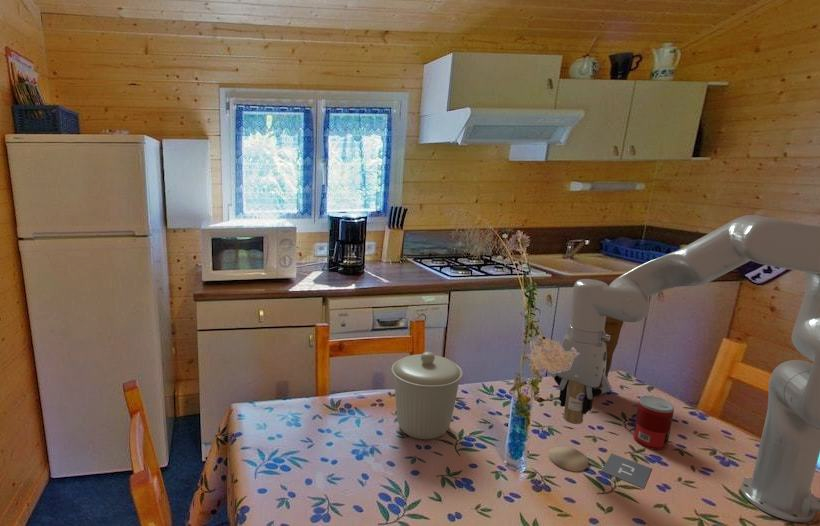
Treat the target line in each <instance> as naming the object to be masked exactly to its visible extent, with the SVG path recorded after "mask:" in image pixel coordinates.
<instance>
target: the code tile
mask: <svg viewBox="0 0 820 526" xmlns="http://www.w3.org/2000/svg"><path fill="white" fill-rule="evenodd" d="M601 472H602V473H605V474H607V475H609V476H612V477H615V478H616V479H619V480H622V481H623V482H627V483H629V484H632V485H634V486H636V487H640V488H642V489H645V486H646V483H647V481H648V479H649V477H650V473H651V472H652V467H649V466H647V465H643V464H641V463H639V462H635V461H633V460H631V459H628V458H626V457H622V456H620V455H617V454H615V453H612V452H610V455H609V456H608V459H607V461H606V462H605V464H604V466H603V467H602V469H601Z"/></svg>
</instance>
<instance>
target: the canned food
mask: <svg viewBox="0 0 820 526" xmlns="http://www.w3.org/2000/svg"><path fill="white" fill-rule="evenodd" d="M636 410H637V411H636V415H635V423H634V429H633V439H634V440H635V441H636V442H637V444H639V445H641V446H642V447H645V448H647V449H652V450H656V451H657V450H664V449H666V448H667V446H668V443H669V438H670V433H671V428H672V422H673V417H674V411H675V406H674V405H673V403H671V402H670V401H669V400H667V399H664V398H662V397H659V396H654V395H643V396H640V397H639V399H638V404H637V409H636Z"/></svg>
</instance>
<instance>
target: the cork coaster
mask: <svg viewBox="0 0 820 526" xmlns="http://www.w3.org/2000/svg"><path fill="white" fill-rule="evenodd" d="M548 458H549V460H550V461H551V463H553V464H554V465H555V466H557V467H559V468H561V469H563V470H565V471H570V472H582V471H585V470H586V469H587V468H588V467H589V459H588V457H587V456H586V455H585V454H584V453H583V452H581V451H579V450H578V449H576V448H573V447H570V446H563V445H561V446H555V447H552V448H551V449H550V450H549V453H548Z"/></svg>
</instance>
